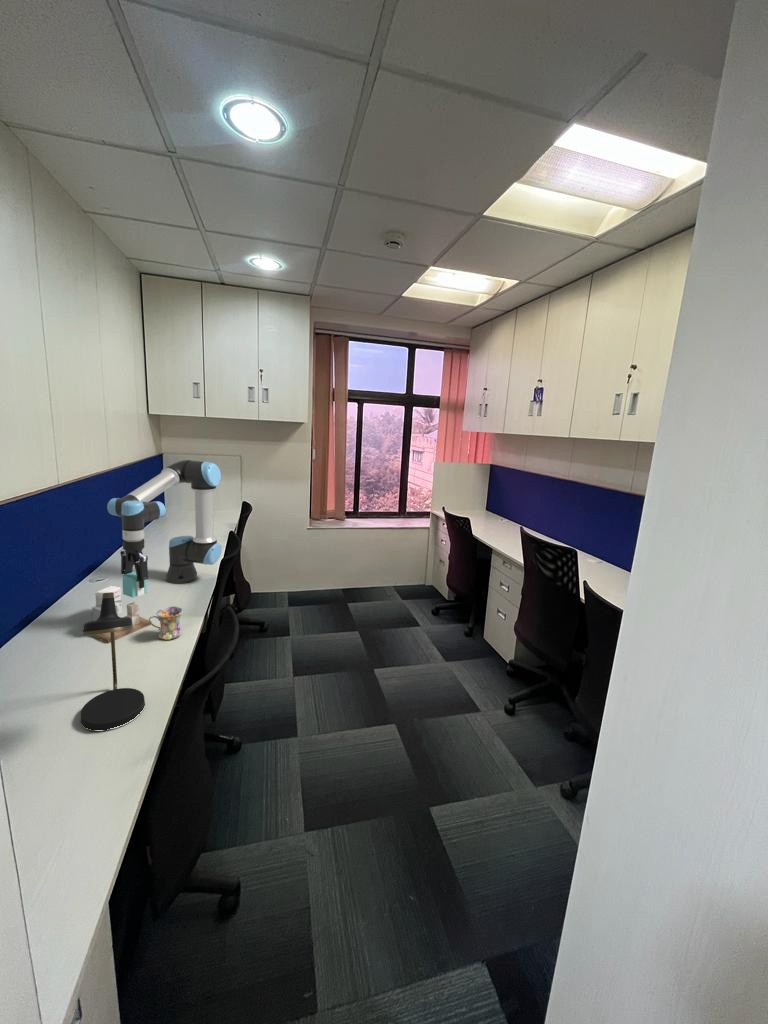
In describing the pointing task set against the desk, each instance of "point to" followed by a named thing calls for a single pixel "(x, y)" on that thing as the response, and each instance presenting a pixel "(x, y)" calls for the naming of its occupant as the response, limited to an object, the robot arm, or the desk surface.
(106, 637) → the stand
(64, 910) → the desk surface
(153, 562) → the desk surface
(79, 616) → the desk surface
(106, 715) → the lamp
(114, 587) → the ink box
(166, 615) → the mug
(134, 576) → the teal foam cube
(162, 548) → the desk surface
